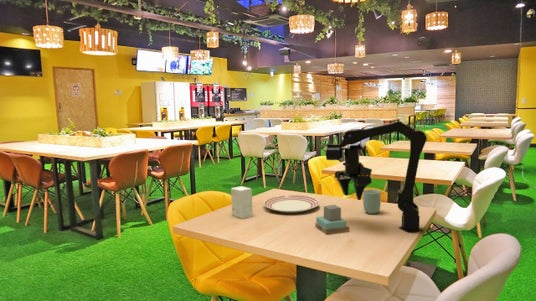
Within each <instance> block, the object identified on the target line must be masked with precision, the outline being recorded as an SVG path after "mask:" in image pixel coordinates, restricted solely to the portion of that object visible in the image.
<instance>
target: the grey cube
mask: <svg viewBox="0 0 536 301" xmlns="http://www.w3.org/2000/svg"><path fill="white" fill-rule="evenodd" d="M323 216H324V219H326V220H328V221H337V220H341V218H342V208H341V207H340V206H338V205H336V204H330V205H324V206H323Z"/></svg>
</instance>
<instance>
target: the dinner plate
mask: <svg viewBox="0 0 536 301" xmlns="http://www.w3.org/2000/svg"><path fill="white" fill-rule="evenodd" d="M319 205H320V200H318V199H317V198H315V197H313V196H309V195H301V194H285V195H277V196H273V197H272V196H271V197H270V198H267V199H265V200H264V201H263V206H264V207H265V208H268V209H270V210H272V211H276V212H279V213H283V214H284V213H286V214H289V213H290V214H292V213H293V214H294V213H296V214H297V213H303V212H306V211H310V210H312V209H314V208H316V207H318V206H319Z"/></svg>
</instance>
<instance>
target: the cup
mask: <svg viewBox="0 0 536 301" xmlns="http://www.w3.org/2000/svg"><path fill="white" fill-rule="evenodd" d="M381 194H382V192H381V191H380V190H378V189H364V191H363V194H362V205H363V210H364V212H366V213H367V214H370V215H374V214H378V213H379V211H380V209H381V205H382V204H381V202H382V201H381V200H382V197H381V196H382V195H381Z"/></svg>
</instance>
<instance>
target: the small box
mask: <svg viewBox="0 0 536 301" xmlns="http://www.w3.org/2000/svg"><path fill="white" fill-rule="evenodd" d="M230 191H231V194H230V195H231V214H232V216H234V217H237V218H239V219H245V218H249V217H250V218H251V217H253V216H254V215H253V214H254V211H253V190H252V188H251V187H248V186H247V187H246V186H242V185H241V186H236V187H231V188H230Z"/></svg>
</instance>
